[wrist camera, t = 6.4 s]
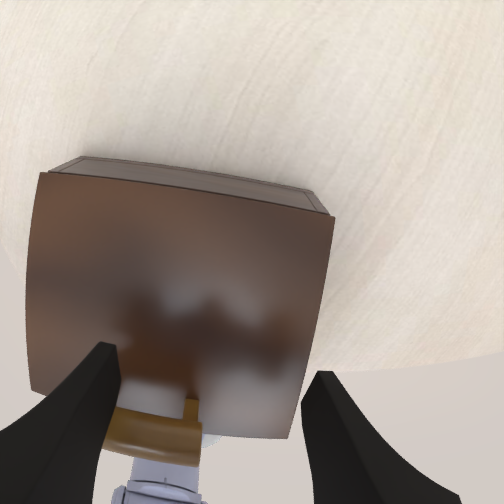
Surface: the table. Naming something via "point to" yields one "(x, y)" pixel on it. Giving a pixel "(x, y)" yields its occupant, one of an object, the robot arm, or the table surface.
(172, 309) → the box lid
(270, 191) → the keepsake box
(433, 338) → the table surface
